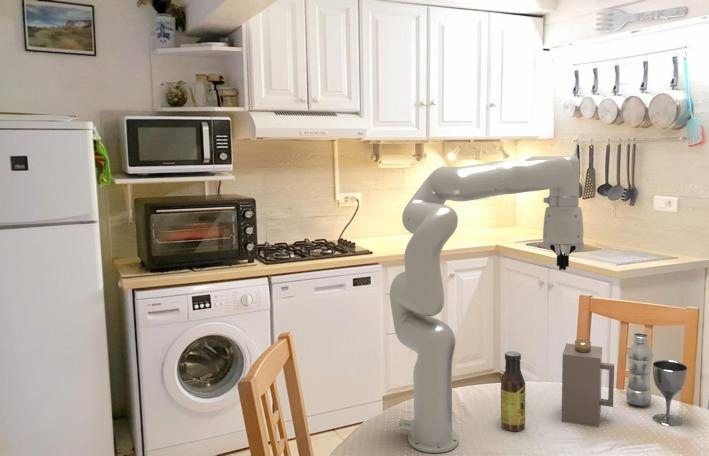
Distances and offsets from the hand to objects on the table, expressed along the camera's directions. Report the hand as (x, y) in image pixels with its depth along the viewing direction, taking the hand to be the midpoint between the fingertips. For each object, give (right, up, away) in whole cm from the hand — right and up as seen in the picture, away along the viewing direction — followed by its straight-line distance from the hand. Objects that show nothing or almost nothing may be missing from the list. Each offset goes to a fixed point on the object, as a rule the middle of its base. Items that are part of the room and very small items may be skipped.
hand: (562, 268), depth 169 cm
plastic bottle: (+23, -38, +4) cm, 45 cm away
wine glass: (+26, -40, -6) cm, 48 cm away
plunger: (+4, -38, -3) cm, 38 cm away
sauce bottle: (-15, -41, -7) cm, 44 cm away
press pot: (+6, -40, -3) cm, 40 cm away
